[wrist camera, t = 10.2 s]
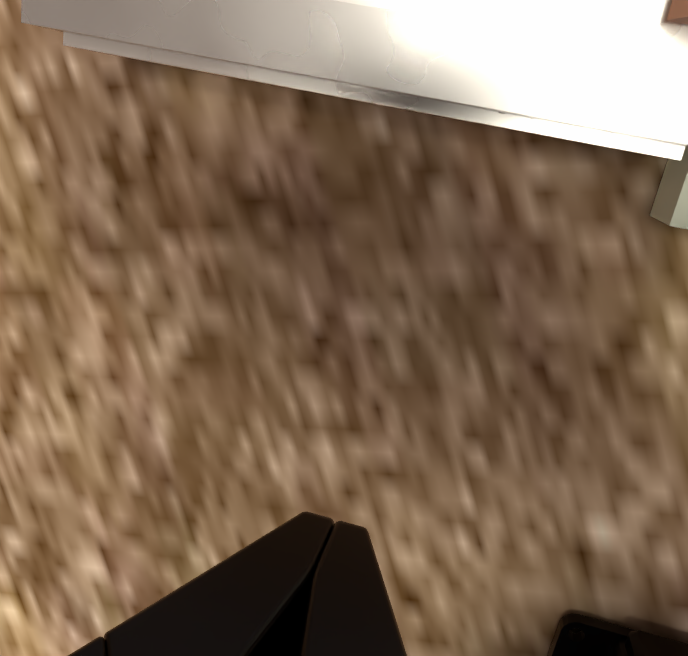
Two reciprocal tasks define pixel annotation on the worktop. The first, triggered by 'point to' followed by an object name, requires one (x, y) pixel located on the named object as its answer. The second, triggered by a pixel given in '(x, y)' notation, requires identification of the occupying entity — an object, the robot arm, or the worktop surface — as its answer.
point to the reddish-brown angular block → (678, 11)
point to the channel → (425, 57)
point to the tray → (673, 194)
